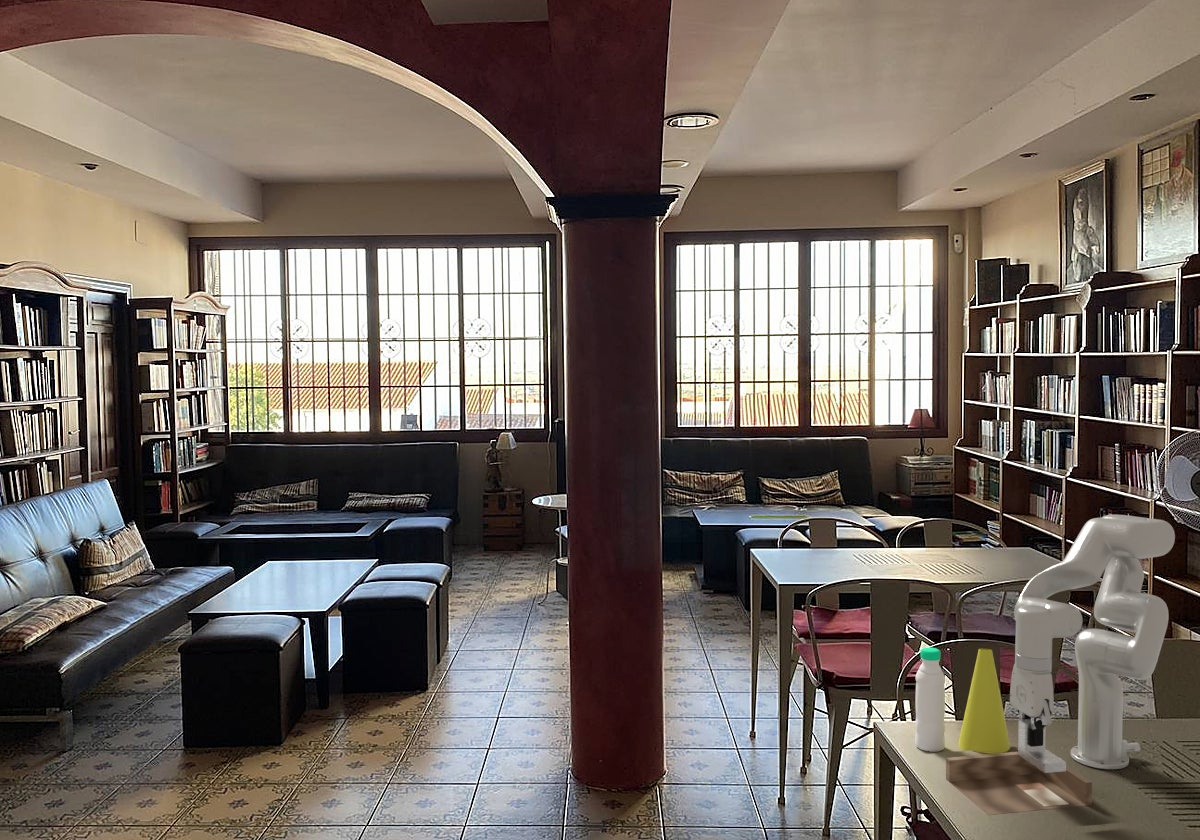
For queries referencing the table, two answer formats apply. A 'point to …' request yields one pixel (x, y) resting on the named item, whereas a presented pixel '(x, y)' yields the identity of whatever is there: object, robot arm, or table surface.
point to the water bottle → (930, 702)
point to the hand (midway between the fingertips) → (1031, 742)
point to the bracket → (1037, 751)
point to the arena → (1015, 784)
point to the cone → (984, 710)
